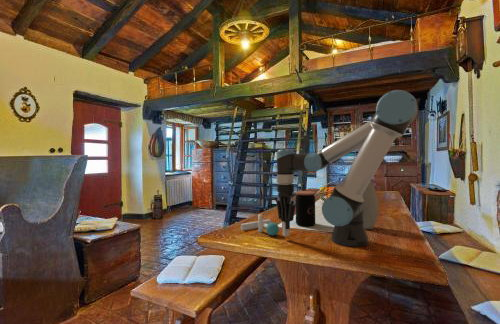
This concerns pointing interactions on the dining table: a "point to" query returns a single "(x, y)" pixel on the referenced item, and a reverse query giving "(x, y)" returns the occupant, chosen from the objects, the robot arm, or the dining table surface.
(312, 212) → the coffee jar
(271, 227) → the ball
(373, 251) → the dining table surface
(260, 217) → the back pin
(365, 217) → the bowling pin
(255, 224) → the back wall
